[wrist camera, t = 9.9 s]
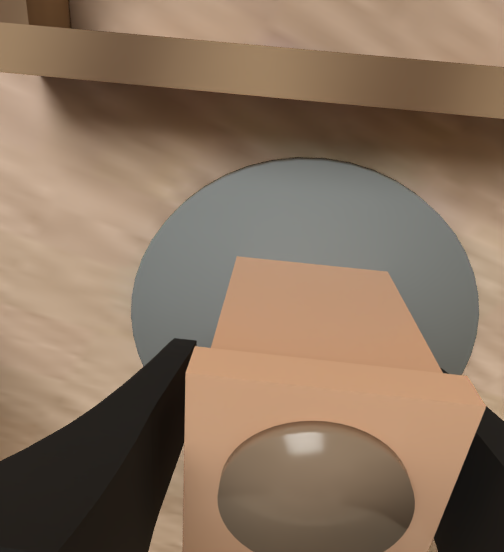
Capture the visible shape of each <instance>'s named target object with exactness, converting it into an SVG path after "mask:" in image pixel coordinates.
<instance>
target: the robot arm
mask: <svg viewBox="0 0 504 552" xmlns="http://www.w3.org/2000/svg"><path fill="white" fill-rule="evenodd" d="M195 346H197V341H196V340H187V339H178V338H174V339H173V340H171V341H170V342H169V343H168V344H167V345H166V346H165V347H164V348H163V349H162V350H161V351H160V352H159V353H158V354H157V355H156V356H155V357H154V358H152V359H151V360H150V361H149V362H148V363H147V364H146V365H145V366H144V367H143V368H142V369H140V370H139V371H138V372H137V373H136V374H135V375H134V376H132V377H131V378H130V379H129V380H128V381H127V382H126V383H124V384H123V385H122V386H121V387H119V388H118V389H117V390H116V391H114V392H113V393H112V394H110V395H109V396H108V397H107V398H105V399H104V400H103V401H102V402H100V403H99V404H98V405H96V406H95V407H93V408H92V409H91V410H89V411H88V412H86V413H85V414H83V415H82V416H80V417H79V418H77V419H76V420H74V421H73V422H71V423H70V424H68V425H66V426H65V427H63V428H62V429H60V430H58V431H56V432H54V433H53V434H51V435H49V436H47V437H45V438H44V439H42V440H40V441H38V442H37V443H35V444H33V445H31V446H29V447H28V448H26V449H24V450H22V451H20V452H18V453H16V454H14V455H12V456H10V457H8V458H6V459H4V460H2V461H0V552H148V550H149V546H150V542H151V538H152V534H153V531H154V527H155V524H156V521H157V518H158V515H159V511H160V509H161V506H162V503H163V500H164V497H165V495H166V492H167V489H168V486H169V483H170V481H171V478H172V475H173V472H174V469H175V467H176V464H177V461H178V458H179V455H180V452H181V450H182V447H183V444H184V436H185V377H186V370H187V367H188V365H189V362H190V359H191V356H192V353H193V350H194V347H195ZM440 369H441V370H442V372H443V373H445V374H449V373H447V372H446V371H445V370H444V369H442V368H440ZM434 540H435V543H436V546H437V549H438V552H504V421H503V420H502V419H500V418H499V417H498V416H497V415H496V414H495V413H493V412H492V411H491V410H490V409H489V408H488V407H487V406H486V408H485V411H484V413H483V416H482V418H481V421H480V423H479V426H478V428H477V431H476V433H475V436H474V438H473V441H472V443H471V446H470V448H469V451H468V453H467V456H466V458H465V461H464V463H463V466H462V468H461V471H460V473H459V476H458V478H457V481H456V483H455V486H454V488H453V491H452V493H451V496H450V498H449V501H448V503H447V506H446V508H445V511H444V513H443V516H442V518H441V521H440V523H439V526H438V528H437V531H436V533H435V536H434Z"/></svg>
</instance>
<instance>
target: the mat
mask: <svg viewBox="0 0 504 552" xmlns="http://www.w3.org/2000/svg"><path fill="white" fill-rule="evenodd" d="M237 256H239V257H249V258H259V259H269V260H278V261H288V262H298V263H308V264H318V265H328V266H337V267H347V268H357V269H367V270H377V271H387V272H388V273H389V275H390V277H391V278H392V280H393V282H394V284H395V286H396V288H397V290H398V291H399V293H400V295H401V297H402V299H403V301H404V302H405V304H406V306H407V308H408V310H409V312H410V313H411V315H412V317H413V319H414V321H415V323H416V324H417V326H418V328H419V330H420V332H421V334H422V335H423V337H424V339H425V341H426V343H427V345H428V347H429V348H430V350H431V352H432V354H433V356H434V358H435V359H436V361H437V363H438V365H439V367H440V368H442V369H444V370H445V371H446V372H447V373H449V374H455V375H462V373H463V371H464V369H465V367H466V365H467V362H468V360H469V358H470V356H471V353H472V349H473V346H474V342H475V339H476V335H477V327H478V319H479V303H478V291H477V286H476V281H475V276H474V272H473V270H472V267H471V264H470V262H469V259H468V257H467V254H466V252H465V250H464V248H463V247H462V245H461V243H460V242H459V240H458V238H457V236H456V235H455V233H454V232H453V231H452V229H451V228H450V227H449V226H448V224H447V223H446V222H445V221H444V220H443V218H442V217H441V216H440V215H439V214H438V213H437V212H436V211H435V210H434V209H433V208H431V207H430V206H429V205H428V204H427V203H426V202H425V201H424V200H423V199H421V198H420V197H419V196H418V195H417V194H415V193H414V192H412V191H411V190H409V189H408V188H406V187H405V186H403V185H402V184H400V183H399V182H397V181H396V180H394V179H392V178H389V177H387V176H385V175H383V174H381V173H379V172H377V171H375V170H372V169H369V168H366V167H362V166H359V165H356V164H353V163H350V162H344V161H338V160H332V159H326V158H303V157H297V158H287V159H277V160H271V161H266V162H262V163H258V164H254V165H250V166H247V167H244V168H242V169H239V170H236V171H234V172H231V173H229V174H226V175H224V176H222V177H220V178H219V179H217V180H215V181H213V182H211V183H210V184H208V185H206V186H204V187H203V188H202V189H200V190H199V191H198V192H196V193H195V194H194V195H192V196H191V197H190V198H188V199H187V200H186V201H185V202H184V203H183V204H182V205H181V206H180V207H179V208H178V209H177V210H176V211H175V212H174V213H173V214H172V215H171V216H170V217H169V218H168V219H167V220H166V222H165V223H164V224H163V226H162V227H161V228H160V230H159V231H158V232H157V234H156V235H155V236H154V238H153V239H152V241H151V243H150V245H149V247H148V248H147V250H146V252H145V254H144V256H143V258H142V260H141V263H140V266H139V269H138V272H137V275H136V278H135V283H134V288H133V293H132V306H131V319H132V328H133V336H134V340H135V343H136V347H137V351H138V354H139V357H140V359H141V361H142V364H143V366H145V365H146V364H147V363H148V362H149V361H150V360H151V359H152V358H154V357H155V356H156V355H157V354H158V353H159V352H160V351H161V350H162V349H163V348H164V347H165V346H166V345H167V344H168V343H169V342H170V341H171V340H173V339H174V338H178V339H187V340H196V341H197V346H198V347H207V348H211V345H212V342H213V338H214V335H215V331H216V328H217V324H218V321H219V317H220V314H221V310H222V307H223V303H224V300H225V296H226V293H227V289H228V286H229V282H230V279H231V275H232V272H233V268H234V264H235V261H236V257H237Z"/></svg>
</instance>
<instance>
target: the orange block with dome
mask: <svg viewBox="0 0 504 552" xmlns="http://www.w3.org/2000/svg"><path fill="white" fill-rule="evenodd" d="M485 408H486V405H485V404H484V402H483V400H482V399H481V397H480V396H479V394H478V392H477V391H476V389H475V387H474V386H473V384H472V383H471V381H470V379H469V378H468V376H464V375H455V374H445V373H443V372H442V370H441V369H440V367H439V365H438V363H437V361H436V359H435V358H434V356H433V354H432V352H431V350H430V348H429V347H428V345H427V343H426V341H425V339H424V337H423V335H422V334H421V332H420V330H419V328H418V326H417V324H416V323H415V321H414V319H413V317H412V315H411V313H410V312H409V310H408V308H407V306H406V304H405V302H404V301H403V299H402V297H401V295H400V293H399V291H398V290H397V288H396V286H395V284H394V282H393V280H392V278H391V277H390V275H389V273H388V272H387V271H377V270H367V269H357V268H347V267H337V266H328V265H318V264H308V263H298V262H288V261H278V260H269V259H259V258H249V257H239V256H237V257H236V261H235V264H234V268H233V272H232V275H231V279H230V282H229V286H228V289H227V293H226V296H225V300H224V303H223V307H222V310H221V314H220V317H219V321H218V324H217V328H216V331H215V335H214V338H213V342H212V345H211V348H207V347H198V346H195V347H194V350H193V353H192V356H191V359H190V362H189V365H188V367H187V370H186V377H185V436H184V496H183V552H428V550H429V548H430V545H431V543H432V540H433V538H434V536H435V533H436V531H437V528H438V526H439V523H440V521H441V518H442V516H443V513H444V511H445V508H446V506H447V503H448V501H449V498H450V496H451V493H452V491H453V488H454V486H455V483H456V481H457V478H458V476H459V473H460V471H461V468H462V466H463V463H464V461H465V458H466V456H467V453H468V451H469V448H470V446H471V443H472V441H473V438H474V436H475V433H476V431H477V428H478V426H479V423H480V421H481V418H482V416H483V413H484V411H485Z"/></svg>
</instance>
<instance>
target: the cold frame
mask: <svg viewBox="0 0 504 552" xmlns="http://www.w3.org/2000/svg"><path fill="white" fill-rule="evenodd" d="M0 72H5V73H15V74H26V75H37V76H48V77H58V78H69V79H80V80H91V81H101V82H112V83H123V84H134V85H144V86H155V87H166V88H177V89H187V90H198V91H209V92H220V93H230V94H241V95H252V96H263V97H273V98H284V99H295V100H306V101H316V102H327V103H338V104H349V105H359V106H370V107H381V108H392V109H402V110H413V111H424V112H435V113H446V114H456V115H467V116H478V117H489V118H499V119H504V67H496V66H485V65H474V64H462V63H451V62H440V61H429V60H417V59H406V58H395V57H384V56H373V55H361V54H350V53H339V52H328V51H317V50H305V49H294V48H283V47H272V46H261V45H249V44H238V43H227V42H216V41H204V40H193V39H182V38H171V37H160V36H148V35H137V34H126V33H115V32H104V31H92V30H81V29H71V27H70V15H69V3H68V0H0Z"/></svg>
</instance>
